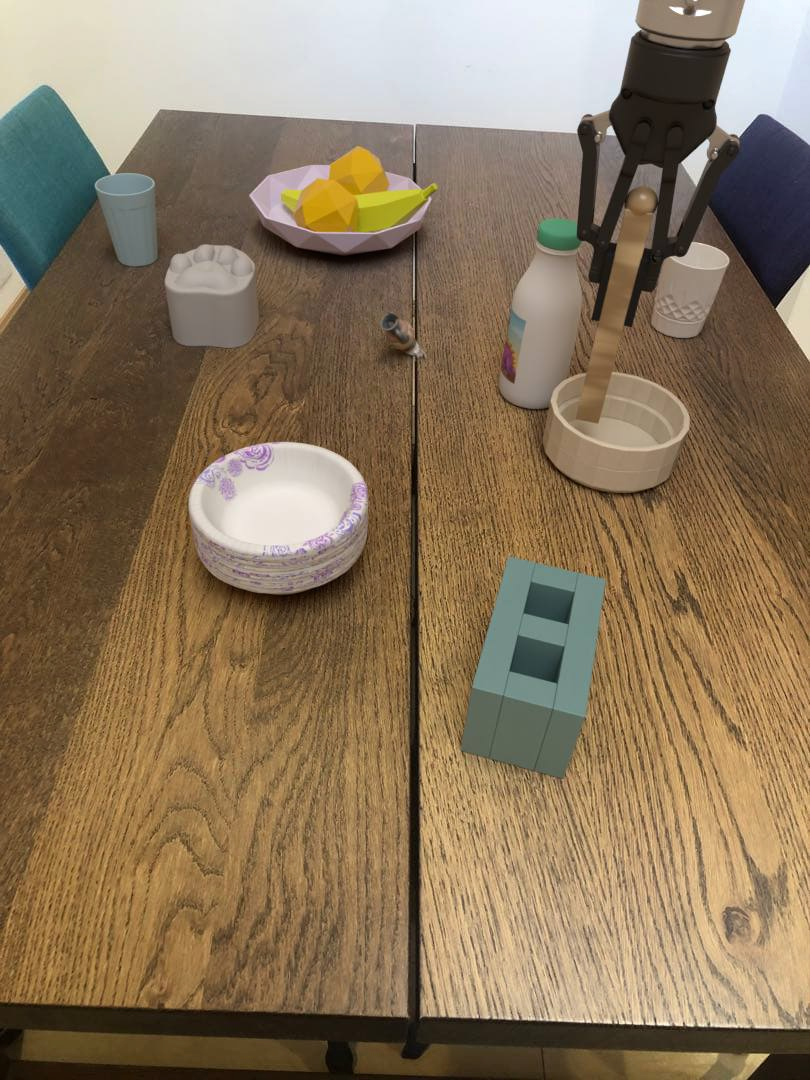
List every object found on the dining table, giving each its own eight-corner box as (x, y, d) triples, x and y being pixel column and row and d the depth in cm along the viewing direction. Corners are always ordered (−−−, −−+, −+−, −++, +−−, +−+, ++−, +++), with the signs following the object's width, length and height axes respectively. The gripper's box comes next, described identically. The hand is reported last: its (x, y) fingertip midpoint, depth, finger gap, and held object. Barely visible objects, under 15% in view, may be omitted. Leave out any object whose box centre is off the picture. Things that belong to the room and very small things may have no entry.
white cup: (634, 322, 110) (653, 250, 103) (669, 306, 114) (690, 236, 107) (681, 347, 106) (705, 274, 99) (716, 329, 110) (742, 258, 103)
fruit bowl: (219, 227, 125) (211, 149, 117) (357, 189, 139) (358, 117, 131) (332, 298, 111) (331, 215, 103) (473, 248, 124) (482, 171, 117)
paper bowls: (250, 485, 82) (244, 420, 76) (391, 529, 78) (395, 464, 73) (164, 587, 71) (150, 520, 66) (322, 643, 68) (321, 577, 62)
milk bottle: (570, 385, 98) (608, 220, 84) (551, 418, 93) (588, 248, 79) (510, 368, 100) (537, 204, 86) (488, 399, 95) (513, 230, 81)
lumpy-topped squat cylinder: (166, 344, 100) (154, 278, 94) (187, 294, 109) (178, 230, 103) (251, 349, 100) (245, 282, 94) (265, 298, 110) (261, 235, 104)
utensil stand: (585, 643, 69) (606, 578, 64) (563, 779, 60) (585, 717, 54) (495, 621, 71) (508, 555, 65) (460, 750, 61) (471, 687, 56)
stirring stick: (602, 411, 87) (662, 183, 71) (600, 425, 85) (660, 195, 69) (576, 405, 87) (630, 178, 71) (573, 420, 85) (627, 189, 69)
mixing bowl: (676, 431, 92) (691, 386, 88) (670, 510, 82) (687, 463, 78) (552, 406, 95) (561, 361, 91) (531, 479, 85) (541, 432, 81)
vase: (390, 372, 98) (392, 328, 94) (367, 351, 101) (368, 307, 97) (427, 361, 100) (431, 317, 96) (403, 341, 104) (406, 297, 99)
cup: (147, 274, 113) (134, 198, 105) (99, 264, 114) (82, 188, 107) (175, 252, 118) (165, 178, 111) (129, 243, 119) (115, 169, 112)
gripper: (575, 33, 61) (526, 320, 77) (791, 60, 58) (693, 351, 74) (587, 13, 66) (539, 285, 82) (785, 37, 63) (695, 313, 80)
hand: (612, 316), depth 78 cm, fingers closed on stirring stick, 2 cm apart
